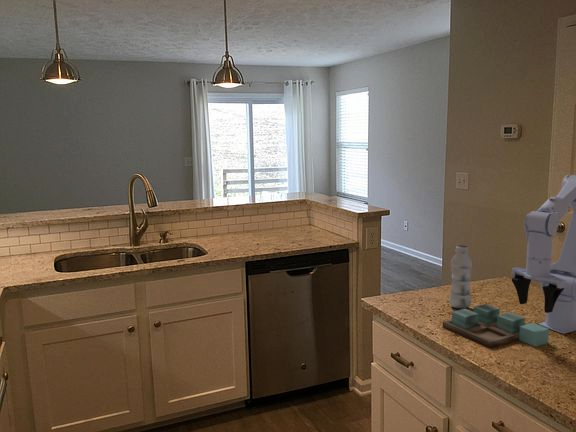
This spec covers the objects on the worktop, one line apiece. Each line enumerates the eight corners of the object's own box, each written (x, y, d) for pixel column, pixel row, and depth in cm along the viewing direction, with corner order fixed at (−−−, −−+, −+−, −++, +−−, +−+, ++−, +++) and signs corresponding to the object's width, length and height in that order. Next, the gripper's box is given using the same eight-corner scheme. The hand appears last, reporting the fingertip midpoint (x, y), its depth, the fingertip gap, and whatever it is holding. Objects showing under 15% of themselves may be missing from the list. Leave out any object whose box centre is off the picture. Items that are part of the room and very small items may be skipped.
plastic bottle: (472, 311, 160) (475, 249, 157) (449, 310, 162) (452, 248, 158) (469, 304, 167) (472, 244, 163) (447, 303, 168) (450, 243, 165)
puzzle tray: (484, 316, 156) (485, 301, 155) (533, 335, 141) (535, 318, 140) (442, 326, 148) (443, 310, 148) (489, 348, 133) (490, 330, 133)
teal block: (531, 336, 141) (532, 322, 140) (547, 343, 136) (548, 329, 136) (518, 340, 138) (519, 326, 138) (535, 347, 134) (536, 332, 133)
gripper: (504, 253, 138) (502, 302, 140) (554, 265, 125) (550, 318, 128) (522, 250, 141) (519, 298, 144) (572, 261, 129) (568, 313, 131)
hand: (535, 307), depth 136 cm, fingers open, 7 cm apart
